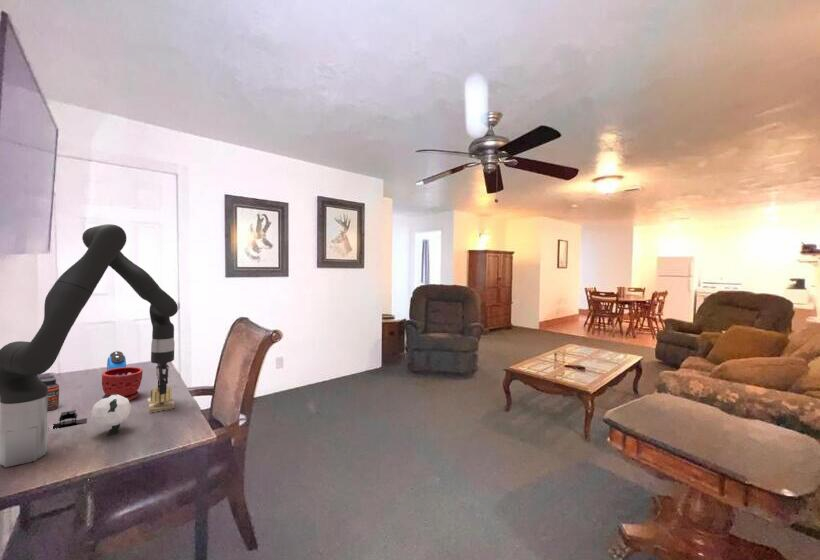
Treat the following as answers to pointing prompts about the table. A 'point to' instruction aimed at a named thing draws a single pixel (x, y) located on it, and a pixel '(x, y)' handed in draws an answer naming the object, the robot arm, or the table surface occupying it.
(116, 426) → the figurine
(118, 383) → the plant pot
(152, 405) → the gear board
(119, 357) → the alarm clock
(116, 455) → the table surface
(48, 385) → the supplement bottle
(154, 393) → the brass gear
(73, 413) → the black flared hood
